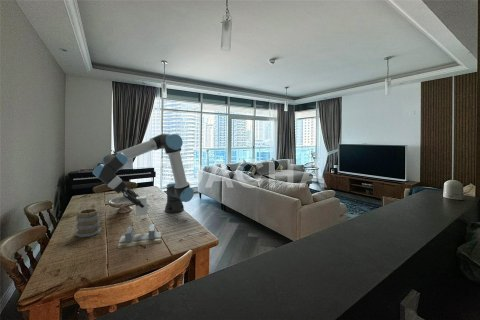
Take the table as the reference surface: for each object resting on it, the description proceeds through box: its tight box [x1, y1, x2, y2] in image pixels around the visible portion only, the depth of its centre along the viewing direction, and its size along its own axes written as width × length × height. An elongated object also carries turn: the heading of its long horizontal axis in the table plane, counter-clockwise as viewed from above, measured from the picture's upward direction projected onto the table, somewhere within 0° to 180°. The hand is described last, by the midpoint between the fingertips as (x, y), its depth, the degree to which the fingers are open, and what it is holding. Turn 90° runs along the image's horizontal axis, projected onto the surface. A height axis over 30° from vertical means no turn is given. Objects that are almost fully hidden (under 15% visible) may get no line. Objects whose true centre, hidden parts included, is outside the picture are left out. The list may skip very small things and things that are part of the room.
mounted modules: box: [124, 223, 156, 243], centre depth 129 cm, size 15×10×5 cm, turn 109°
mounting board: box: [117, 231, 162, 249], centre depth 129 cm, size 22×12×2 cm, turn 109°
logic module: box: [135, 195, 148, 217], centre depth 140 cm, size 6×5×11 cm
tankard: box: [75, 203, 103, 238], centre depth 141 cm, size 20×13×15 cm, turn 17°
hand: (147, 208), depth 142 cm, fingers closed on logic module, 5 cm apart
